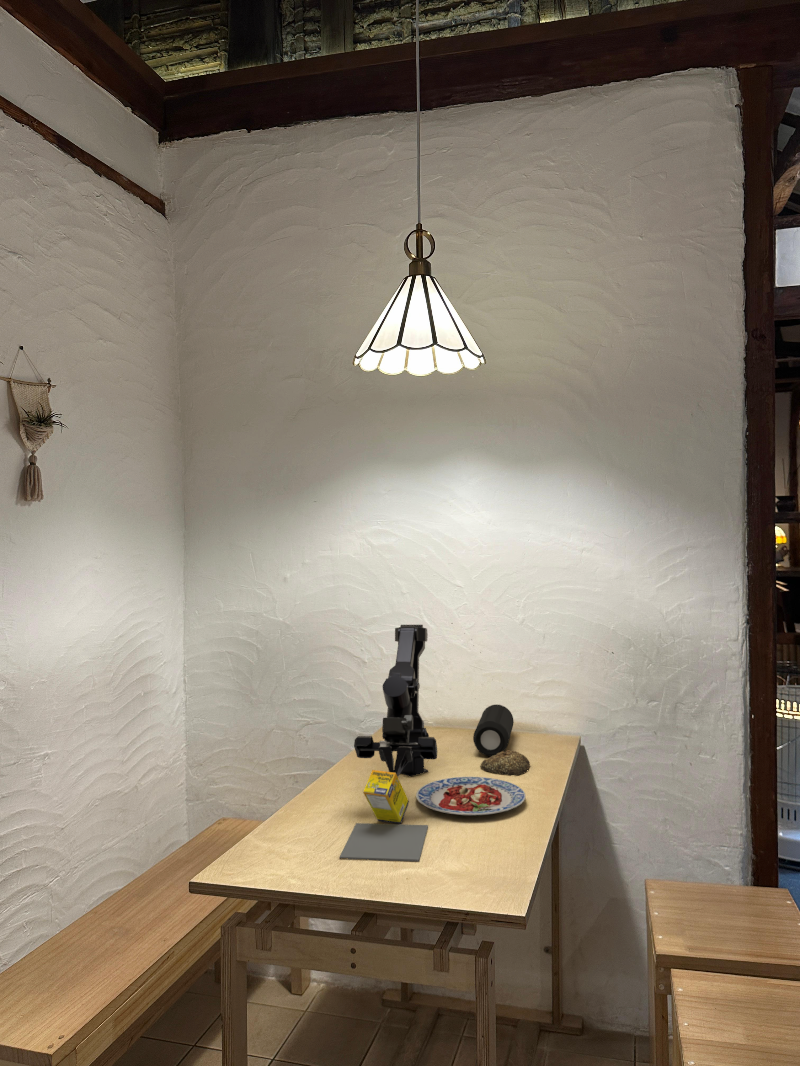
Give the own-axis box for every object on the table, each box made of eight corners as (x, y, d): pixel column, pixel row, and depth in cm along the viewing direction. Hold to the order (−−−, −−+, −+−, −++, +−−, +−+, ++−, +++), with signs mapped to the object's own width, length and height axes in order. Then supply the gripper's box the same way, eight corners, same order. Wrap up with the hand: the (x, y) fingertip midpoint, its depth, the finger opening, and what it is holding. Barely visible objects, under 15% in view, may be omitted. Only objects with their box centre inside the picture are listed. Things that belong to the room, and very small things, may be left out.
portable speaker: (482, 734, 255) (481, 702, 255) (514, 735, 253) (513, 702, 253) (472, 758, 230) (471, 723, 230) (508, 760, 228) (507, 724, 228)
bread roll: (515, 779, 212) (515, 760, 212) (474, 771, 219) (474, 752, 219) (539, 766, 222) (538, 748, 222) (499, 759, 230) (499, 741, 229)
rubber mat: (356, 824, 182) (356, 823, 182) (428, 826, 180) (428, 825, 180) (339, 858, 164) (339, 856, 164) (419, 861, 162) (419, 859, 162)
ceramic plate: (416, 785, 208) (416, 774, 208) (519, 784, 208) (518, 772, 208) (415, 824, 183) (415, 810, 183) (532, 822, 182) (532, 809, 182)
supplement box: (409, 801, 186) (396, 771, 180) (401, 824, 182) (387, 795, 176) (386, 798, 188) (372, 768, 182) (377, 821, 184) (362, 792, 178)
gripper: (354, 701, 190) (346, 763, 179) (435, 702, 188) (431, 764, 177) (361, 726, 198) (353, 787, 187) (438, 727, 196) (435, 789, 185)
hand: (392, 781), depth 184 cm, fingers closed
